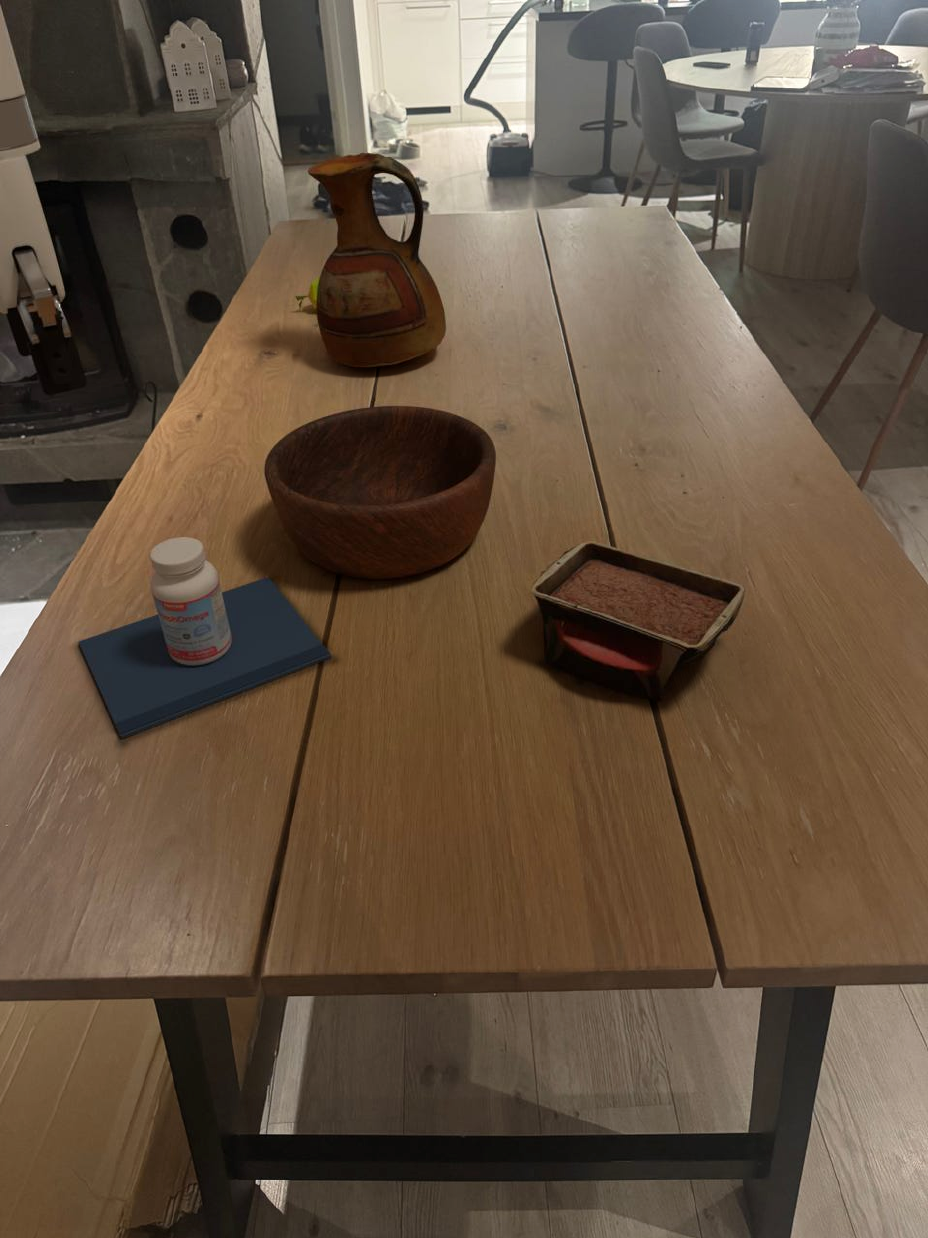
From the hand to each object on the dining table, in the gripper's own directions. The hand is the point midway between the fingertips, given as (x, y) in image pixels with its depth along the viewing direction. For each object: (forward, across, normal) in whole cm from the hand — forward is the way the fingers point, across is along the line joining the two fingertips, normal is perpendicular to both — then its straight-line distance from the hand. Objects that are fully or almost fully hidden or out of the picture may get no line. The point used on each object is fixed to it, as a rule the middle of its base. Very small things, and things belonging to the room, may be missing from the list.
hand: (52, 370), depth 74 cm
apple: (+28, -81, +56) cm, 103 cm away
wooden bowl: (+28, -5, +30) cm, 42 cm away
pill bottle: (+28, +4, +5) cm, 29 cm away
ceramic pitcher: (+28, -54, +55) cm, 82 cm away
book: (+28, +4, +5) cm, 29 cm away
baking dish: (+28, +27, +39) cm, 55 cm away
